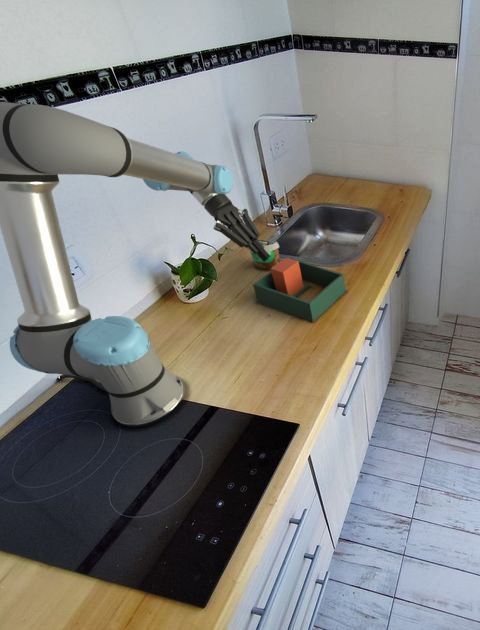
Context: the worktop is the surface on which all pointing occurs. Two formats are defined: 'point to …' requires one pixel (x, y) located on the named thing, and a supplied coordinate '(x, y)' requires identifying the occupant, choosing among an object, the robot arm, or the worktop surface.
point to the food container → (272, 260)
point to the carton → (287, 277)
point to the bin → (298, 306)
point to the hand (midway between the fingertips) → (267, 258)
